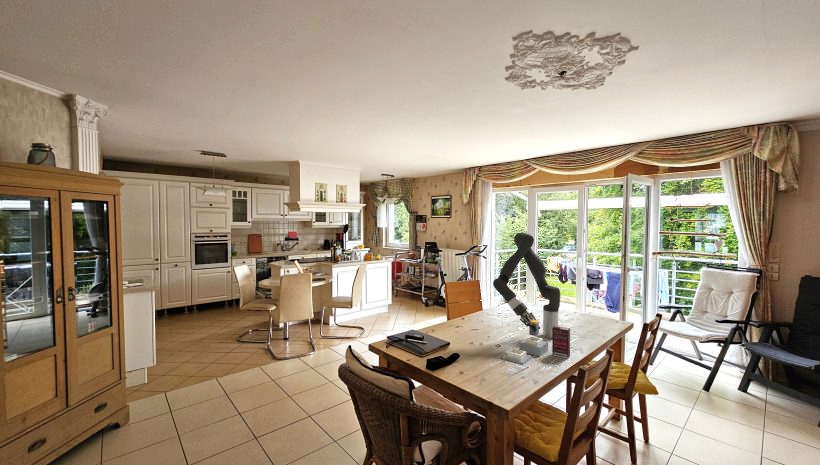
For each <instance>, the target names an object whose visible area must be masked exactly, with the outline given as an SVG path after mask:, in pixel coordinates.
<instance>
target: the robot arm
mask: <svg viewBox="0 0 820 465" xmlns="http://www.w3.org/2000/svg"><path fill="white" fill-rule="evenodd" d="M513 239H514V240H513V242H514V245H515V247H517V249H516V251H515V252H514V253H513V254H512V255H511V256H510V257H509V258H508V259H507V260H506V261H505V262H504V264H503V266H502V268H501V270H500V274H499V275H498V277H497V278H494V280H493V281H492V285H493V287H494V288H493V289H495V290H496V291H497V293H498V294H500V296H502V298H503V299H504V301H505V302H506V303H507V305H508V306H509V308H510V309H511V310H512V311H513V312H514V313H515V314H516V316H517V317H520V318H519V320H520V321H521V323H523V325H525V326H526V327H527V328H528V327H531V329H532V330H533V331H534V332H536V331H537V329H536V327H535V326H534V325H533V324H532V322H531V320H537V319H536V317H535V316H534V313H533V312H529V311H528V306H527V305H525V303H524V302H523V301H522V299H520V297H518V296H517V294H516V293H515V292H514V291H513V290H512V289H511V288H510V287H509V286H508V283H509V281H510V279H511V277H512V275H513V274H514V272H515V270H516V268H517V267H518V265H519V263H520V262H521V261H522V259H524V261H525V263H526V265H527V267H528V270H529V271H530V273H531V275H532V277H533V279H534V281H535V283H536V285H537V287H538V290H539V293H540V295H541V297H542V298H543V299H545V300H548V304H544V305H543V307H542V308H543V309H542V313H543V319H542V337H544V338H547V339H552V327H553V326H559V309H560V306H561V290H560V288H559V287H558V286H553V285H550V284H549V283H548V282H547V280H546V274H547V270H546V266H545V264H544V262H543V260H542V259H541V258H540V257H539V255H537V253H536V252H535V251H534V250H533V249H532V247H533V246H534V242H535V238H534V237H533V235H532V234H530V233H526V232H517V233H516V234H515V235H514V237H513ZM540 329H541V327H540V326H539V330H540Z"/></svg>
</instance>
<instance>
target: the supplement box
mask: <svg viewBox="0 0 820 465" xmlns="http://www.w3.org/2000/svg"><path fill="white" fill-rule="evenodd" d="M551 342H552V345H551V348H552V349H551V353H552V356H554V357H558V358H563V359H569V358H570V356H571V328H570V327H565V326H559V325H558V326H553V327H552V338H551Z"/></svg>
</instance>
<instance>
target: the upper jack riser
mask: <svg viewBox="0 0 820 465" xmlns="http://www.w3.org/2000/svg"><path fill="white" fill-rule="evenodd" d="M519 350H522V351H526V354H528V355H529V354H530V355H533V356H537V357H542V356H543V355H544V354H546V353H547V352H548V351H549V342H548V341H546V340H544V339H543V338H541V337H537V336H533V335H529V336H527V337H526V338H525V339H523V340H521V341H520V342H519Z"/></svg>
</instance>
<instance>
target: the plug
mask: <svg viewBox="0 0 820 465" xmlns="http://www.w3.org/2000/svg"><path fill="white" fill-rule="evenodd" d="M531 322H532V324H533V325H534V326H535V327H536V329H537V331H536V332H534V331H533V330H532V329H531V327H529V326H528V327H529V330H528V332H529V333H528V334H529V336H533V337H537V336H539V334H540V329H539V327H540V321H539V320H537V319H536V320H531Z"/></svg>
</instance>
